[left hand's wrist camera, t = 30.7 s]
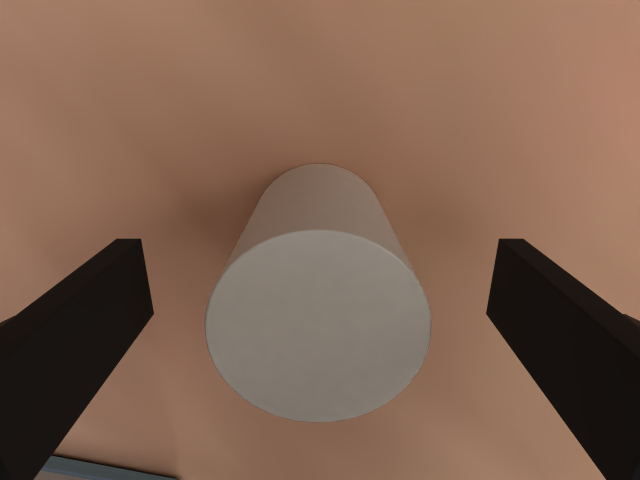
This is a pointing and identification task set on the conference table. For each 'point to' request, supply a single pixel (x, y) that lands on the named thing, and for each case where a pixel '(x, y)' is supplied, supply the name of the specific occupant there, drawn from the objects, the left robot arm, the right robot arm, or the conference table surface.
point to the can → (318, 302)
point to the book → (88, 471)
